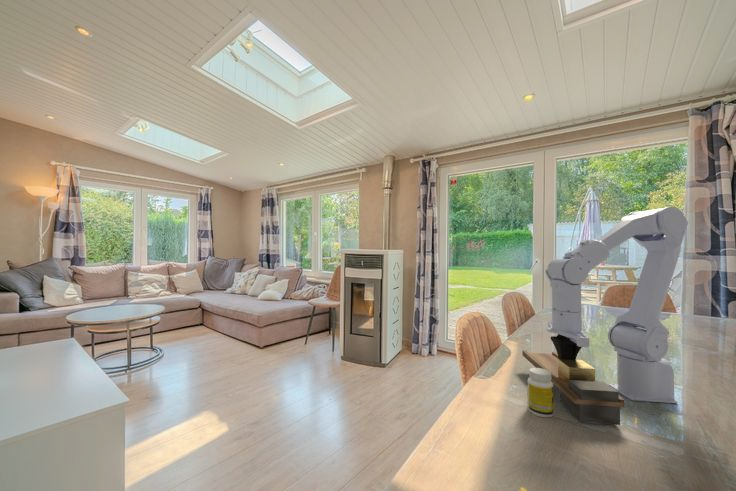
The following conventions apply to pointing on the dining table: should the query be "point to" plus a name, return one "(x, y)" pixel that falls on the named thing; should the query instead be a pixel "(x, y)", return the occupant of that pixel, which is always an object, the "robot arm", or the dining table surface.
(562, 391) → the beam
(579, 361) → the block
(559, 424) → the dining table surface
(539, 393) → the supplement bottle
